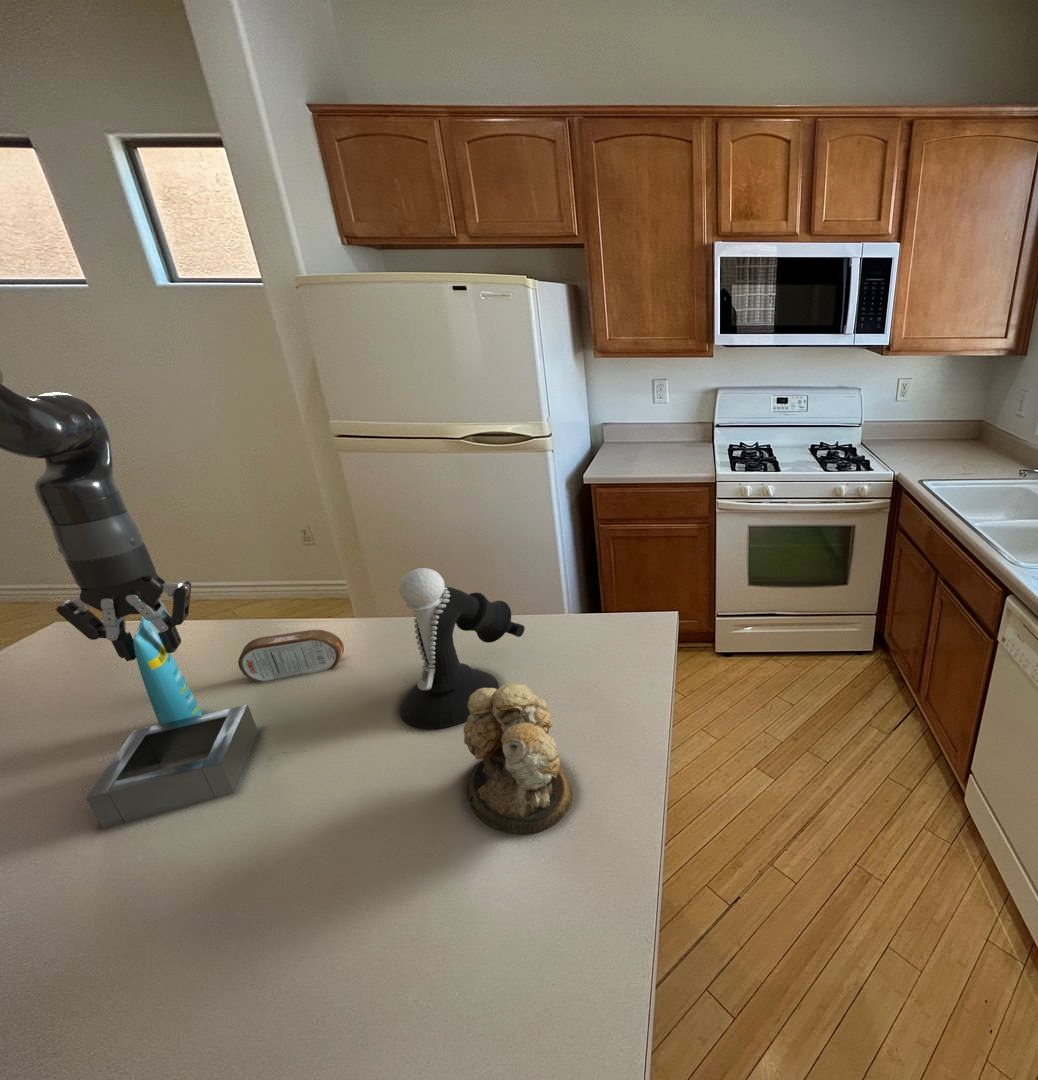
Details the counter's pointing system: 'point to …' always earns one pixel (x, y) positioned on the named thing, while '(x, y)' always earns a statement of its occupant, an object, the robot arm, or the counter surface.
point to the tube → (162, 677)
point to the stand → (147, 792)
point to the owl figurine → (514, 761)
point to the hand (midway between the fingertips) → (153, 653)
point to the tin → (290, 654)
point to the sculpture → (448, 648)
